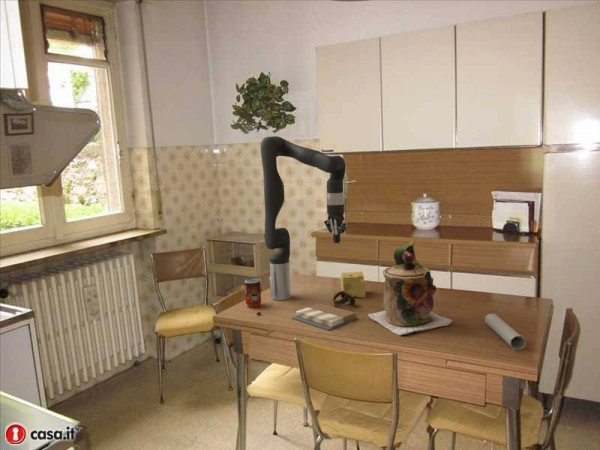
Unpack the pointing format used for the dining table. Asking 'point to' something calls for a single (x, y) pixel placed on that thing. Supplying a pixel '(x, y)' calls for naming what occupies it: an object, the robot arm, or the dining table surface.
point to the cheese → (353, 283)
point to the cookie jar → (408, 296)
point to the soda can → (252, 292)
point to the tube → (505, 332)
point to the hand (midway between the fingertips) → (336, 242)
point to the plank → (319, 317)
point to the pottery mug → (344, 299)
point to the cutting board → (346, 315)
